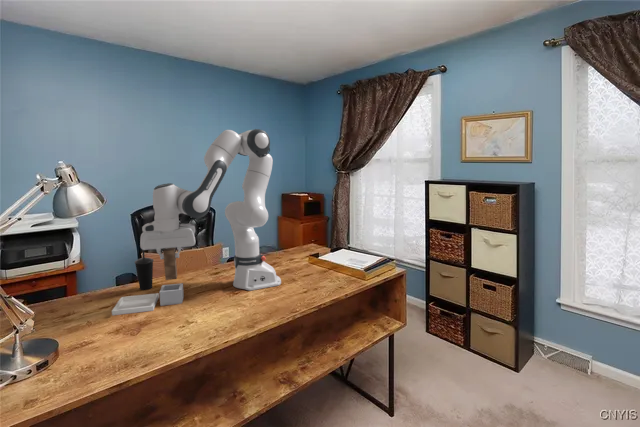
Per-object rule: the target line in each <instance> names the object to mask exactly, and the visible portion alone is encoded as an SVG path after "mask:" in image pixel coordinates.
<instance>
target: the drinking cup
mask: <svg viewBox="0 0 640 427" xmlns="http://www.w3.org/2000/svg"><path fill="white" fill-rule="evenodd" d="M141 252H142V257H141V258H138V259H136V260H135V261H134V264H135V268H136V270H135V271H136V274H137V280H138V286H139V290H140V291H149V290H152V289H153V276H154V274H153V273H154V271H153V270H154V269H153V268H154V259H153V258H150V257H146V256H145V250H142V249H141Z"/></svg>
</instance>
